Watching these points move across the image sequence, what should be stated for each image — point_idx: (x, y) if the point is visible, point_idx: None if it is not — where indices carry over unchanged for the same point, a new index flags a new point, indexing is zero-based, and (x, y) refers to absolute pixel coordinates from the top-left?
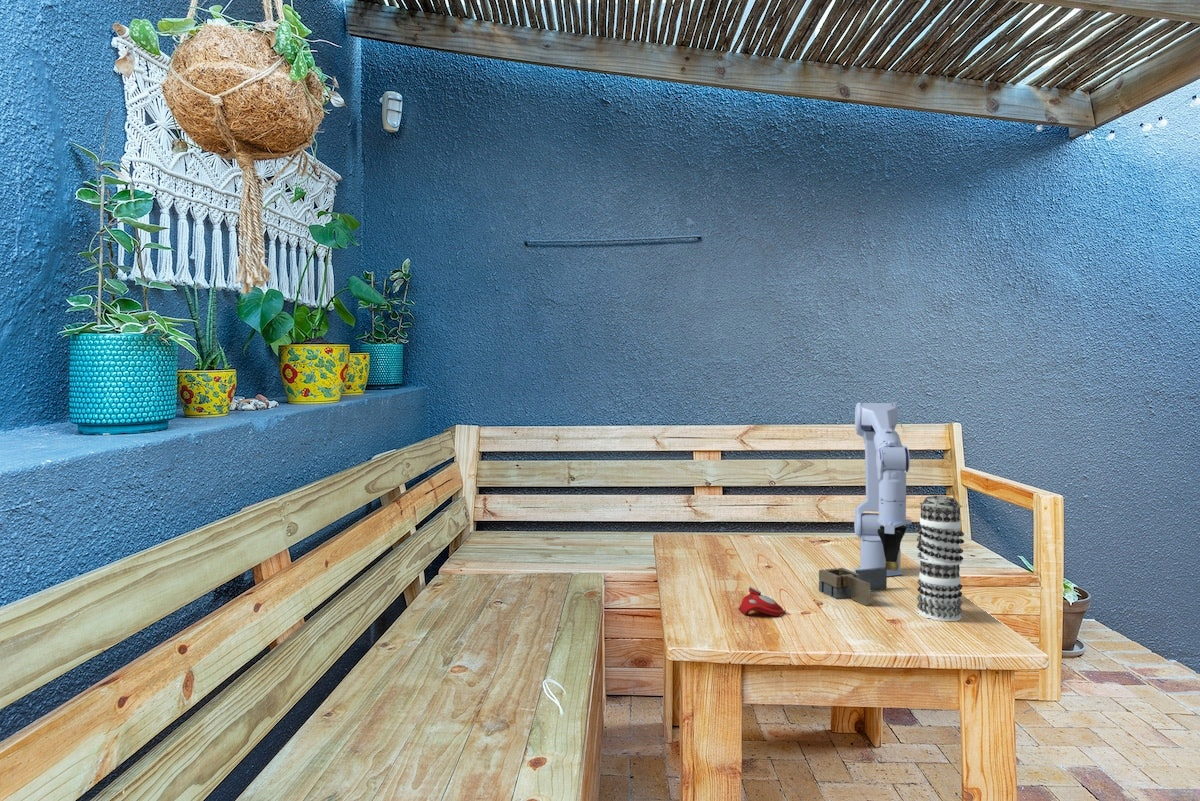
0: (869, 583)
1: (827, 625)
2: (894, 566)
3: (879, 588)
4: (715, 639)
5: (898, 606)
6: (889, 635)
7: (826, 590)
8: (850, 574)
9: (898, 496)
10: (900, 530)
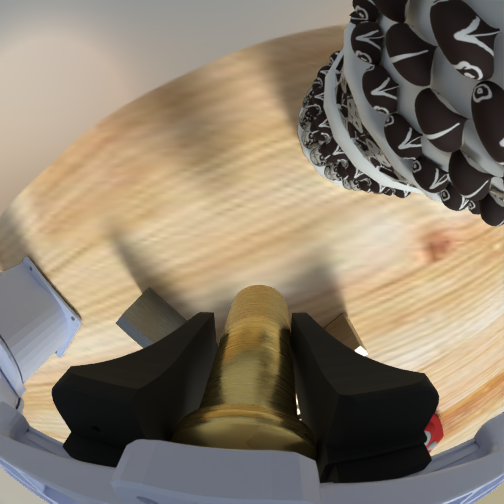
0: (361, 347)
1: (468, 348)
2: (285, 307)
3: (166, 305)
4: (492, 412)
5: (316, 243)
6: (498, 247)
7: None
8: None
9: None
10: (155, 418)
